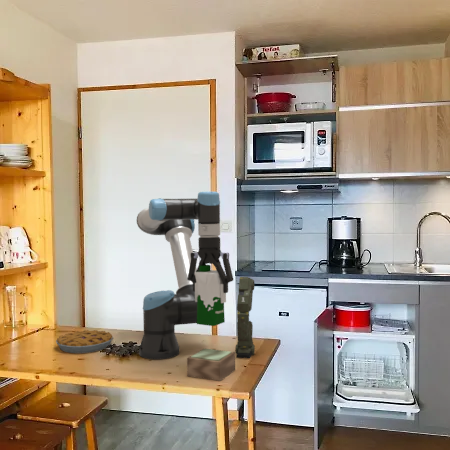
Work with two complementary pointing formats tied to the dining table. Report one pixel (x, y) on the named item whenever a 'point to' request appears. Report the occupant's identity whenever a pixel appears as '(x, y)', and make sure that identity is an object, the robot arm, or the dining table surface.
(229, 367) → the step block
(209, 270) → the soya milk
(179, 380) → the dining table surface
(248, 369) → the dining table surface
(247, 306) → the mechanical leg
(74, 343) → the pie
